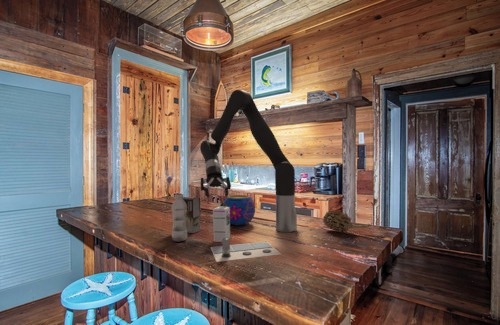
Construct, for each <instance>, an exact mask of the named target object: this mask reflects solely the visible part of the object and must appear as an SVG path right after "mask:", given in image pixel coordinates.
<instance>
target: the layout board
mask: <svg viewBox="0 0 500 325" xmlns="http://www.w3.org/2000/svg"><path fill="white" fill-rule="evenodd" d="M209 248H210V250H211V252H212V254H213V257H214V259H215V262H217V263H220V262H228V261H237V260H244V259H252V258H254V259H255V258H261V257H269V256H278V255H282V253H281V252H280V251H278V250H277V249H276V248H275V247H274V246H272V245H271V243H270V242H268V241H256V242H247V243H239V244H238V243H237V244H230V256H229V257H223V256H222V245H219V246H217V245H216V246H210V247H209Z"/></svg>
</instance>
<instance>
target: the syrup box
mask: <svg viewBox="0 0 500 325" xmlns="http://www.w3.org/2000/svg"><path fill="white" fill-rule="evenodd" d="M212 220H213V221H212V226H213V227H212V228H213V230H212V231H213V242H215V243H217V242H219V243H222V239H223V238H230V239H231V224H230V207H220V206H217V207H215V208H213V209H212Z"/></svg>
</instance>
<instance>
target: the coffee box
mask: <svg viewBox="0 0 500 325" xmlns="http://www.w3.org/2000/svg"><path fill="white" fill-rule="evenodd" d="M183 200H184V201H185V203H186V205H187V211H186V229H187V234H195V233H198V232H200V231H201V198H200V197H191V196H190V197H189V196H184V198H183Z"/></svg>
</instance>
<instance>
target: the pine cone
mask: <svg viewBox="0 0 500 325" xmlns="http://www.w3.org/2000/svg"><path fill="white" fill-rule="evenodd" d="M322 218H323V221H322V222H323V223H324V225H325V226H326V227H328V228H329V230H332V231H335V232H340V233H342V232H343V233H345V234H346V233H347V232H348V231H349V230H351V229H352V228H353V229H360V228H361V229H367V228H368V229H369V228H370V226H371V223H367V224H358V225H357V224H354V223H352V222H351V221H352V218H351V216H348V214H347V213H344V212H341V211H340V210H333V209H332V210H329V211H326V213H324V215H323V217H322Z"/></svg>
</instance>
